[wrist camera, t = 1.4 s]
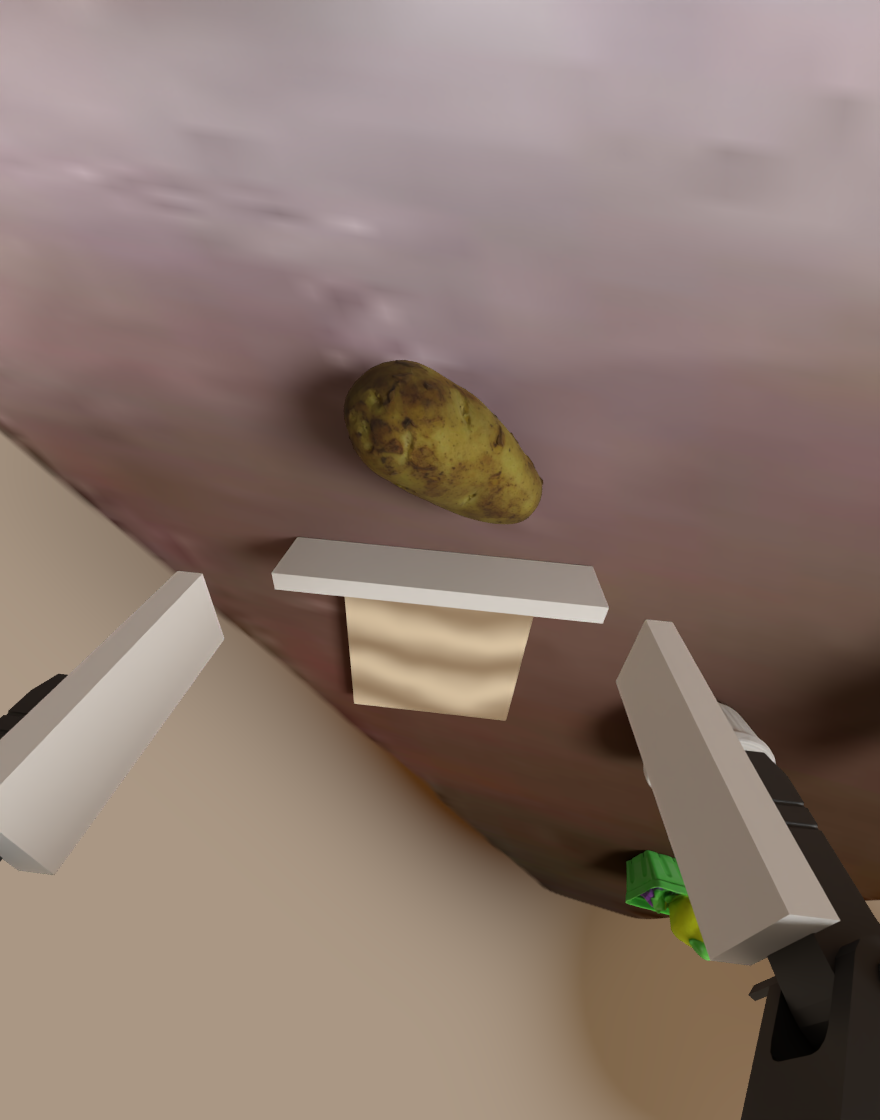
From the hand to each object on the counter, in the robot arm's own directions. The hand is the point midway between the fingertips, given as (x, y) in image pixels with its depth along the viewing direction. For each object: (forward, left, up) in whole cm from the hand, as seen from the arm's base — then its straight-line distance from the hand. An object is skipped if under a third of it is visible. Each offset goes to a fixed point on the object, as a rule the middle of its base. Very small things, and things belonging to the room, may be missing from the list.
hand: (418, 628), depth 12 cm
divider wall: (+10, 0, -18) cm, 21 cm away
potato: (0, 0, -19) cm, 19 cm away
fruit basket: (+61, +37, -19) cm, 74 cm away
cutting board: (+20, 0, -18) cm, 27 cm away
